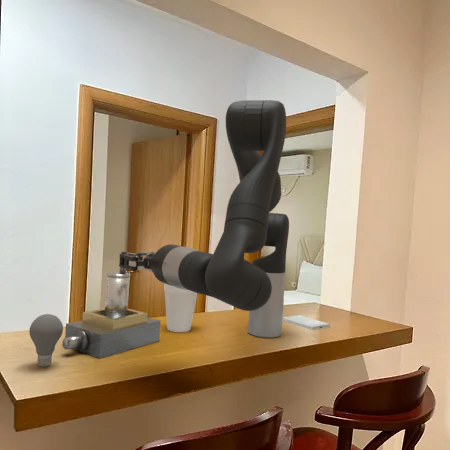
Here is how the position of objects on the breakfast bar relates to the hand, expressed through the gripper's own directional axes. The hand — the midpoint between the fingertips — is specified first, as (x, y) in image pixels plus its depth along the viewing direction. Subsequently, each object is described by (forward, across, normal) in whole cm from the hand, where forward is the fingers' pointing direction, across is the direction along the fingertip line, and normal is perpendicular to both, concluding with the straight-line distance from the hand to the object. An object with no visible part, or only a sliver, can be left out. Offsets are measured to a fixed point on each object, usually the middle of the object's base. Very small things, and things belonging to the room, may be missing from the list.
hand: (141, 256), depth 89 cm
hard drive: (+4, -59, +24) cm, 64 cm away
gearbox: (+10, +3, +22) cm, 24 cm away
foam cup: (+15, -20, +23) cm, 34 cm away
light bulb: (+3, +18, +21) cm, 28 cm away
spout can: (+11, +1, +17) cm, 20 cm away
